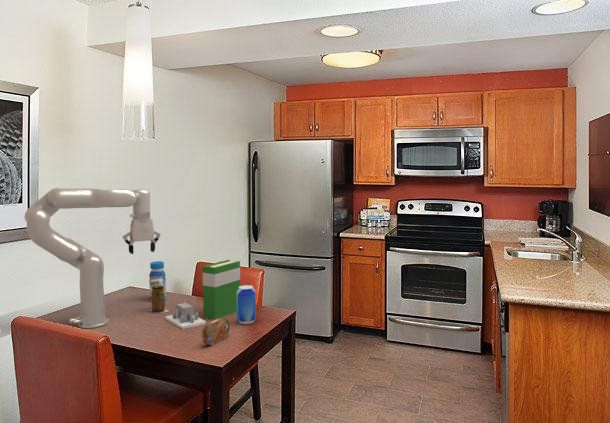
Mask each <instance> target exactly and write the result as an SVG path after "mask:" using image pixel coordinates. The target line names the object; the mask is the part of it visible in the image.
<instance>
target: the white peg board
mask: <svg viewBox="0 0 610 423" xmlns="http://www.w3.org/2000/svg"><path fill="white" fill-rule="evenodd" d="M165 320H166V321H169V322H170V323H171V324H173V325H175V326H176V327H178V328H180V329H182V330H186V329H191V328H194V327H199V326H203V325H206V324H207V321H206V320H204V319H202V318H201V317H199V312H194V316H193V315H192V316H190V322H184V318H183V316H180V319H179V318H177V317H176V310H174V311H173V310H172V314H170V315H167V316H166V315H165Z"/></svg>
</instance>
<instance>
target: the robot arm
mask: <svg viewBox="0 0 610 423" xmlns="http://www.w3.org/2000/svg"><path fill="white" fill-rule="evenodd" d="M128 207H129V208H130V207H132V213H130V214H129V217H130V218H132V219H131V221H130V227H129V229H130V230H129V232H127V233H126V234H124V235H122V239H123V241H124V242H125V243H126V244H127V245H128V252H129V254H131V255H134V245H133V244H134V243H135V242H146V241H149V242H150V245H149V246H150V252H151V253H155V250H156V243H157V242H158V241H159V240H160V239H159V238H161V235H162V234H161V233H160V232H158V231H156V230H155V229H154V228H155V227H154V222H153V218H151V193H150V190H148V189H124V188H120V189H114V190H112V189H99V188H90V187H89V188H82V187H81V188H60V187H55V188H52V189H50V190H49V191H47V193H45V194H44V195H43V196H42V197H40V199H38V200H37V201H36V202H35V203H34V204H31V206H30V207H28V208H27V209H26V211H25V213H24V220H25V222H26V232H27V235H28V237H29V239H30V240H31V242H32V243H34V244H35V245H36V246H37V247H40V248H41V249H42V250H44V251H46V252H47V253H49V254H51V255H53V256H54V257H56V258H57V259H58V260H60V261H62V262H65V263H67V264H68V265H70V266H72V267H74V268H76V269H77V270H79V296H80V299H79V300H80V314H79V316H77V317H73V318H69V322H68V323H69V324H74V325H75V324H77V327H78V328H81V329H94V328H95V329H96V328H101V327H104V326H106V325H107V324H108V323H109V318H108V317H106V315H105V314H106V311H105V292H104V290H105V289H104V288H105V287H104V272H105V270H104V269H105V266H104V261H103V259H102V257H101V256H99V255H98V254H97V253H95V252H93V251H91V250H90V249H88V248H86V247H85V246H83V245H82V244H79V243H78V242H76V241H75V240H73V239H72V238H69V237H65V236H63V234H60V233H59V232H58V231H55V229H53V228H52V227H51V225H50V221H51V217H52V216H54V214H56V213H57V212H58V211H59V210H60V209H61V210H63V209H65V210H66V209H67V210H68V209H69V210H70V209H100V208H128ZM128 237H129V239H128Z"/></svg>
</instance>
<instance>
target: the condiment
mask: <svg viewBox="0 0 610 423" xmlns="http://www.w3.org/2000/svg"><path fill="white" fill-rule="evenodd" d="M163 290H164V289H163V286H162V285H156V286H153V287H152V293H151V294H152V301H151V309H148V311H149V312H151V313H153V314H163V313H167V312H170V310H169V309H166V308H165V307H166V300H165V293H164V291H163Z"/></svg>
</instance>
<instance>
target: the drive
mask: <svg viewBox="0 0 610 423" xmlns="http://www.w3.org/2000/svg"><path fill="white" fill-rule="evenodd" d="M175 311H176V317H177V318H179V319H180V316H183V318H184V322H190V316H192V315H193V316H194V315H195V307H193V305H191V304H189V303H187V302H181V303H176V304H175Z"/></svg>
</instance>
